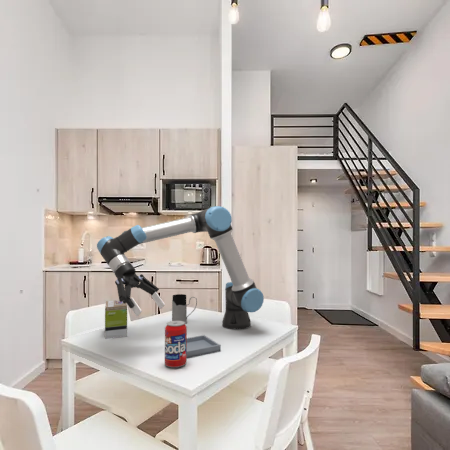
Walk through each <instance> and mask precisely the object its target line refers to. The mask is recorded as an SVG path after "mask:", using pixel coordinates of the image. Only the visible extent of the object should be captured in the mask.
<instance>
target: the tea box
mask: <svg viewBox="0 0 450 450" xmlns="http://www.w3.org/2000/svg"><path fill="white" fill-rule="evenodd" d="M124 337H128V304H127V303H125V304H124V303H123V301H122V302H120V301H119V299H117V300H106V301H105V306H104V339H116V338H124Z"/></svg>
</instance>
